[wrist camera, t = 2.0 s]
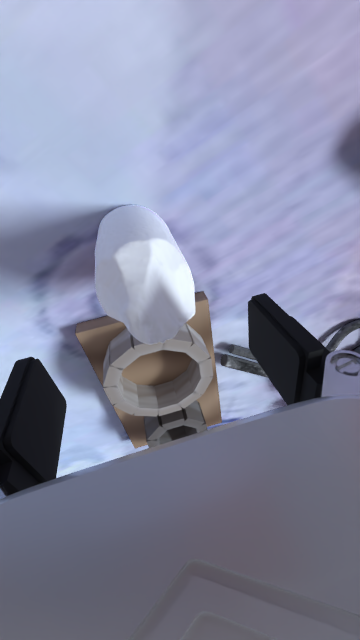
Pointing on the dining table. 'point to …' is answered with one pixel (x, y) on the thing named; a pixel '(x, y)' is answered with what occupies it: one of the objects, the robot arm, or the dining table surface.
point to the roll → (142, 274)
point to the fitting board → (157, 377)
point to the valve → (257, 369)
